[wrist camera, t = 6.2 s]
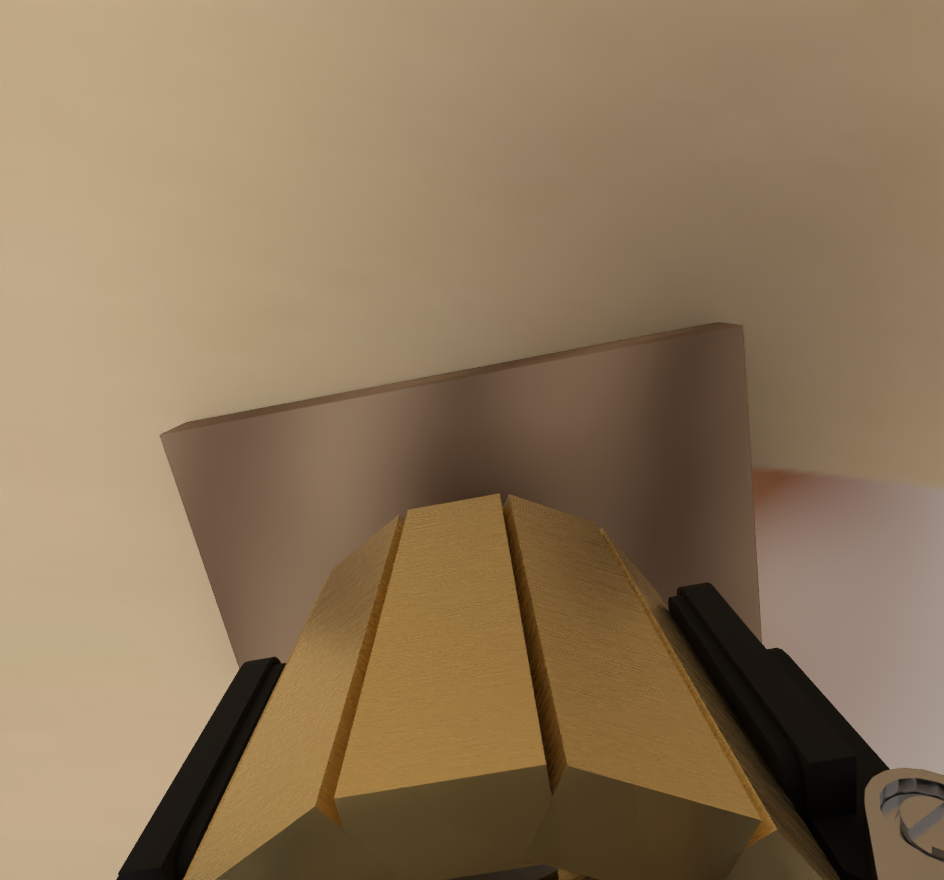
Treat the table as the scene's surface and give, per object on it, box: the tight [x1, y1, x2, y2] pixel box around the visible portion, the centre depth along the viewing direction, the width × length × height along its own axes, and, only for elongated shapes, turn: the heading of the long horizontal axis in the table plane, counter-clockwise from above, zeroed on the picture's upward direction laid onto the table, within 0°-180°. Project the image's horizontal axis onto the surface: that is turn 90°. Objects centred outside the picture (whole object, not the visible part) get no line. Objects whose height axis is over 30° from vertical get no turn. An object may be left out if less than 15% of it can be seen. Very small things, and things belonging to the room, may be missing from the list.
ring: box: [183, 493, 841, 880], centre depth 8 cm, size 7×7×6 cm
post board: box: [160, 323, 762, 880], centre depth 13 cm, size 16×10×10 cm, turn 101°
